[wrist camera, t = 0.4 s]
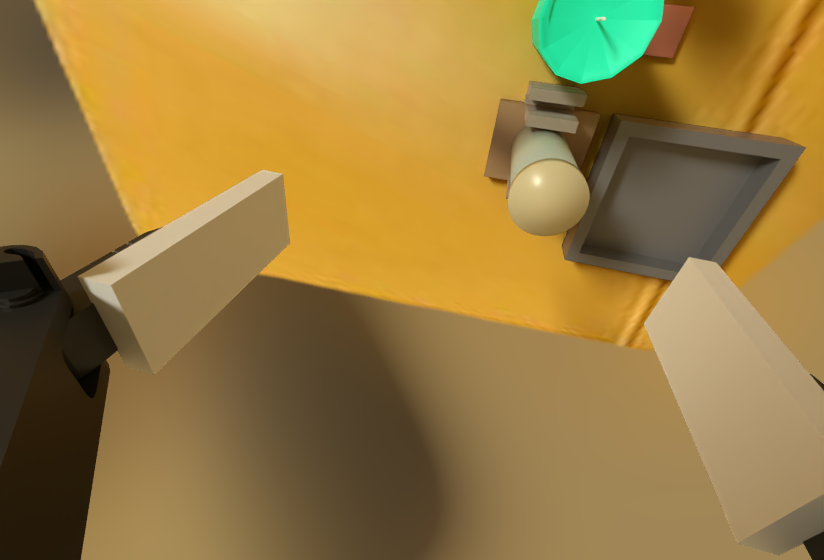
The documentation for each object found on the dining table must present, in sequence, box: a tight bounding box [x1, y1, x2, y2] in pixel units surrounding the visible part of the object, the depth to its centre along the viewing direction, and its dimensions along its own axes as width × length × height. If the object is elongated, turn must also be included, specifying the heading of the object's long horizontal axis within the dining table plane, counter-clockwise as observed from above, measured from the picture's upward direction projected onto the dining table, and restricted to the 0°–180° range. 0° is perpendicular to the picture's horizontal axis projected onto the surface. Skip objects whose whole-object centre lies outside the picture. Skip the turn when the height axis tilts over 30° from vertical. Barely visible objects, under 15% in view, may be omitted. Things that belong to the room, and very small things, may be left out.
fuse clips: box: [484, 4, 695, 199], centre depth 25 cm, size 25×12×5 cm, turn 174°
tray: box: [562, 114, 806, 281], centre depth 32 cm, size 13×13×3 cm
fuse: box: [508, 126, 590, 236], centre depth 27 cm, size 5×5×12 cm
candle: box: [532, 0, 664, 84], centre depth 22 cm, size 6×6×12 cm
